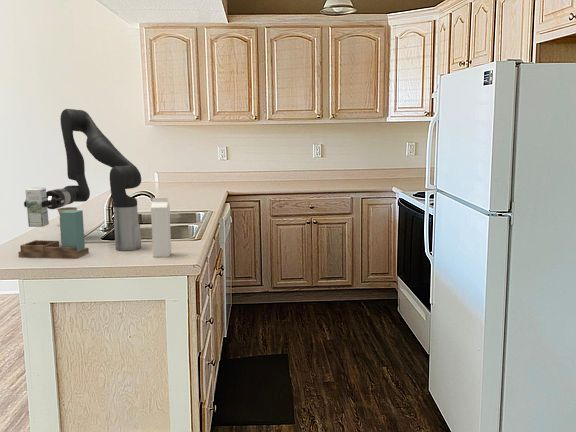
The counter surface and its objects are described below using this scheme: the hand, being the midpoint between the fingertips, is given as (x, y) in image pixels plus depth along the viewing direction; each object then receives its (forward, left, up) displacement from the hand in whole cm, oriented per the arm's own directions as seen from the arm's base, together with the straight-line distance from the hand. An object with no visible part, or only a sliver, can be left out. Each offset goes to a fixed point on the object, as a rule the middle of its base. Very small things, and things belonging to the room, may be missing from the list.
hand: (33, 204), depth 216 cm
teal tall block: (-14, -2, -18) cm, 22 cm away
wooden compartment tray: (-6, -2, -20) cm, 21 cm away
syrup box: (0, -2, -9) cm, 9 cm away
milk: (-47, -6, -20) cm, 52 cm away
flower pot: (+22, -65, -20) cm, 71 cm away
